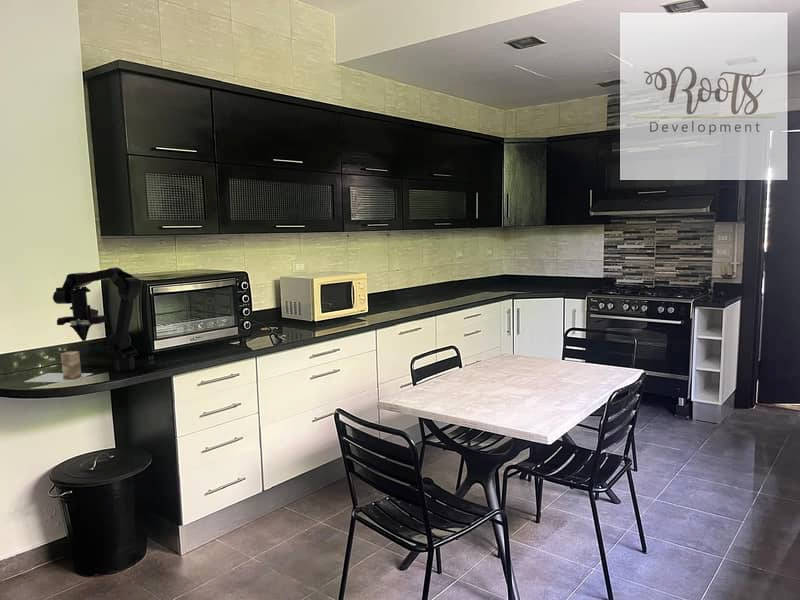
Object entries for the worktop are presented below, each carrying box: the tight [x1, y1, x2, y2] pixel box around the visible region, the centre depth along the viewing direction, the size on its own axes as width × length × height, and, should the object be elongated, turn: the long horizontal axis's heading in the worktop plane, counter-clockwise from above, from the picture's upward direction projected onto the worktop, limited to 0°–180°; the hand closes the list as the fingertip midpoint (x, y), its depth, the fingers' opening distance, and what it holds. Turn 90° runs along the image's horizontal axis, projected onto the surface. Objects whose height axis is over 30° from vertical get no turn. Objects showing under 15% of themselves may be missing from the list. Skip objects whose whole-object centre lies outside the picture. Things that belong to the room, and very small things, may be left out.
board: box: [23, 372, 94, 383], centre depth 231 cm, size 20×13×1 cm, turn 83°
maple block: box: [60, 351, 82, 379], centre depth 229 cm, size 4×4×10 cm
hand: (84, 340), depth 243 cm, fingers closed
